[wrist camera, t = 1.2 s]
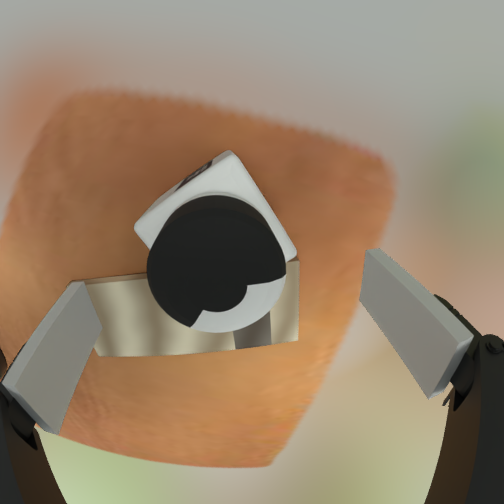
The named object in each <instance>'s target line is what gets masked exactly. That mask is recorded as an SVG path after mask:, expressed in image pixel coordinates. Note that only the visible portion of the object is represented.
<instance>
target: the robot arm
mask: <svg viewBox="0 0 504 504" xmlns="http://www.w3.org/2000/svg"><path fill="white" fill-rule="evenodd" d="M359 300H360V302H361V303H362V304H363V306H364V307H365V308H366V310H367V311H368V312H369V314H370V315H371V316H372V318H373V319H374V320H375V322H376V323H377V325H378V326H379V327H380V329H381V330H382V332H383V333H384V334H385V336H386V337H387V339H388V340H389V342H390V343H391V344H392V346H393V347H394V349H395V350H396V352H397V353H398V354H399V356H400V357H401V359H402V360H403V362H404V363H405V365H406V366H407V367H408V369H409V371H410V372H411V374H412V375H413V377H414V378H415V380H416V381H417V383H418V384H419V386H420V387H421V389H422V390H423V392H424V394H425V395H426V397H427V398H428V399H430V398H432V397H434V396H436V395H438V394H440V393H442V392H443V391H444V390H445V388H446V386H447V385H448V383H449V382H451V383H452V384H453V386H454V387H453V388H452V390H451V391H450V393H449V394H448V396H447V397H446V399H445V400H444V402H443V406H445V405H446V403H447V402H448V400H449V399H450V402H449V406H448V407H449V409H448V415H447V422H446V427H445V432H444V437H443V442H442V447H441V451H440V456H439V459H438V463H437V466H436V470H435V473H434V477H433V480H432V483H431V486H430V489H429V492H428V495H427V498H426V500H425V503H424V504H504V341H503V340H502V339H500V338H499V337H498V336H495V335H492V334H487V335H484V336H482V335H481V334H480V333H479V332H478V331H477V330H476V329H475V328H474V327H473V326H472V325H471V324H470V323H469V322H468V321H467V320H466V319H465V318H464V317H463V316H462V315H460V314H459V312H458V311H457V310H456V309H454V308H453V306H452V305H451V304H450V303H449V302H447V301H446V300H445V299H443V298H441V297H439V296H437V295H433V294H431V293H430V292H429V291H428V290H427V289H426V288H425V287H424V286H423V285H421V283H419V282H418V281H417V280H416V279H415V278H414V277H413V276H412V275H410V274H409V273H408V272H407V271H406V270H405V269H403V268H402V267H401V266H400V265H399V264H398V263H397V262H395V261H394V260H393V259H392V258H391V257H389V256H388V255H387V254H386V253H385V252H383V251H382V250H381V249H380V248H378V249H370V250H366V253H365V262H364V270H363V278H362V285H361V292H360V299H359ZM102 328H103V327H102V325H101V323H100V321H99V318H98V316H97V314H96V311H95V309H94V307H93V304H92V302H91V299H90V297H89V294H88V291H87V289H86V286H85V283H84V281H83V282H72V283H71V284H70V285H69V286H68V288H67V289H66V290H65V291H64V293H63V294H62V295H61V296H60V298H59V299H58V300H57V301H56V303H55V304H54V305H53V307H52V308H51V309H50V311H49V312H48V313H47V315H46V316H45V317H44V319H43V320H42V321H41V323H40V324H39V325H38V327H37V328H36V330H35V331H34V333H33V334H32V335H31V337H30V338H29V340H28V341H27V342H26V343H25V344H24V345H23V346H22V348H21V349H20V351H19V352H18V356H16V357H15V359H14V360H13V363H11V365H10V367H9V368H8V370H7V372H6V369H7V365H6V361H5V358H4V356H3V354H2V352H1V350H0V379H1V378H2V377H3V375H4V373H5V372H6V373H5V375H4V377H3V379H2V380H1V382H0V504H67V503H66V501H65V499H64V497H63V495H62V493H61V491H60V489H59V487H58V485H57V482H56V480H55V478H54V475H53V473H52V471H51V468H50V466H49V463H48V461H47V457H46V455H45V452H44V449H43V446H42V443H41V440H40V437H39V434H38V432H37V430H36V429H35V428H34V425H35V423H37V424H38V425H39V426H40V427H41V428H42V429H43V430H44V431H46V432H50V433H53V434H57V435H58V434H59V431H60V428H61V426H62V423H63V420H64V417H65V414H66V411H67V409H68V406H69V403H70V401H71V398H72V396H73V393H74V391H75V388H76V386H77V383H78V381H79V379H80V376H81V374H82V371H83V369H84V367H85V365H86V362H87V360H88V358H89V356H90V353H91V351H92V349H93V347H94V345H95V343H96V341H97V339H98V336H99V334H100V332H101V330H102Z"/></svg>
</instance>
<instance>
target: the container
mask: <svg viewBox="0 0 504 504" xmlns="http://www.w3.org/2000/svg"><path fill="white" fill-rule="evenodd" d="M134 230H135V232H136V233H137V234H138V236H139V237H140V238H141V239H142V241H143V242H144V243H145V244H146V246H147V247H148V248H149V249H150V252H149V256H148V260H147V279H148V284H149V287H150V290H151V293H152V295H153V297H154V299H155V300H156V302H157V303H158V305H159V306H160V307H161V308H162V309H163V310H164V311H165V312H166V314H168V315H169V316H170V317H171V318H173V319H174V320H176V321H177V322H179V323H181V324H183V325H185V326H187V327H189V328H192V329H195V330H198V331H203V332H211V333H223V332H230V331H234V330H238V329H241V328H244V327H246V326H248V325H250V324H252V323H254V322H256V321H257V320H259V319H260V318H262V317H263V316H264V315H265V314H267V313H268V312H269V311H270V310H271V308H272V307H273V306H274V305H275V303H276V302H277V300H278V299H279V297H280V295H281V293H282V291H283V288H284V284H285V279H286V262H287V261H289V260H291V259H292V258H294V257H295V256H296V254H297V251H296V248H295V246H294V245H293V243H292V241H291V240H290V238H289V236H288V235H287V233H286V231H285V230H284V228H283V227H282V225H281V223H280V222H279V220H278V219H277V217H276V215H275V214H274V212H273V211H272V209H271V207H270V206H269V204H268V203H267V201H266V199H265V198H264V196H263V195H262V193H261V192H260V190H259V188H258V187H257V185H256V184H255V182H254V181H253V179H252V178H251V176H250V175H249V173H248V172H247V170H246V168H245V167H244V165H243V164H242V162H241V161H240V159H239V158H238V157H237V156H236V155H235V154H234V153H233V152H232V151H231V150H226V151H225V152H223V153H221V154H220V155H218V156H217V157H215V158H214V159H212V160H211V161H209V162H208V163H206V164H205V165H203V166H202V167H200V168H199V169H198V170H196V171H195V172H193V173H192V174H190V175H189V176H188V177H186V178H185V179H183V180H182V181H181V182H179V183H178V184H176V185H175V186H174V187H172V188H171V189H170V190H168V191H167V192H166V193H164V194H163V195H162V196H160V197H159V198H158V199H157V200H156V201H155V202H154V203H153V204H152V205H151V206H150V207H149V209H148V210H147V211H146V212H145V213H144V214H143V215H142V216H141V217H140V218H139V220H138V221H137V222H136V223H135V225H134Z"/></svg>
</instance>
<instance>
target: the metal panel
mask: <svg viewBox="0 0 504 504" xmlns="http://www.w3.org/2000/svg"><path fill="white" fill-rule="evenodd" d="M83 281H84V283H85V286H86V289H87V291H88V294H89V297H90V299H91V302H92V304H93V307H94V309H95V311H96V314H97V316H98V318H99V321H100V323H101V325H102V327H103V328H102V330H101V332H100V334H99V336H98V339H97V341H96V343H95V345H94V348H95V350H96V352H97V354H98V356H109V357H127V356H162V355H180V354H194V353H206V352H217V351H226V350H235V349H243V348H251V347H259V346H266V345H272V344H279V343H285V342H291V341H297V340H298V322H299V259H298V258H297V256H295V257H294V258H292V259H291V260H289V261H287V262H286V279H285V284H284V288H283V291H282V293H281V295H280V297H279V299H278V300H277V302H276V303H275V305H274V306H273V307H272V308H271V310H270V311H269V312H268V313H267V314H265V315H264V316H263V317H262V318H260V319H259V320H257V321H256V322H254V323H252V324H250V325H248V326H246V327H244V328H241V329H238V330H234V331H230V332H223V333H211V332H203V331H198V330H195V329H192V328H189V327H187V326H185V325H183V324H181V323H179V322H177V321H176V320H174V319H173V318H171V317H170V316H169V315H168V314H166V312H165V311H164V310H163V309H162V308H161V307H160V306H159V305H158V303H157V302H156V300H155V299H154V297H153V295H152V293H151V290H150V287H149V284H148V279H147V273H142V274H133V275H123V276H114V277H105V278H95V279H86V280H76V281H71V282H70V283H69V284H68V285H67V286H66V287H67V288H68V286H69V285H70V284H71V283H72V282H83Z"/></svg>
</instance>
